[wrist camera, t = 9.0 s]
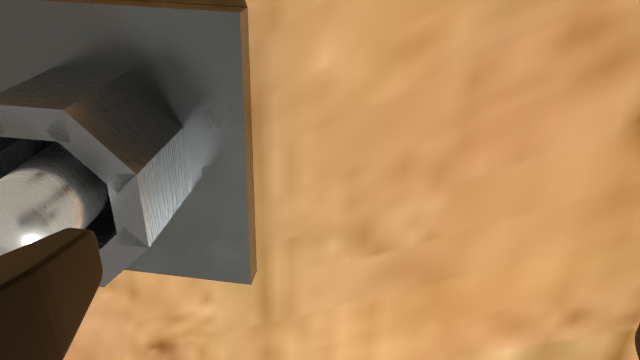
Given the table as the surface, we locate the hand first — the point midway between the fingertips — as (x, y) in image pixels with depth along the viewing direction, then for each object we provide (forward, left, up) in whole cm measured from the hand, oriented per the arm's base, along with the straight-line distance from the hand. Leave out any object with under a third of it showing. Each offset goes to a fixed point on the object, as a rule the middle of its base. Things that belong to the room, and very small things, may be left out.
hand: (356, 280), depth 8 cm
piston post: (+11, +4, -12) cm, 17 cm away
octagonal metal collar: (+11, +4, -11) cm, 16 cm away
